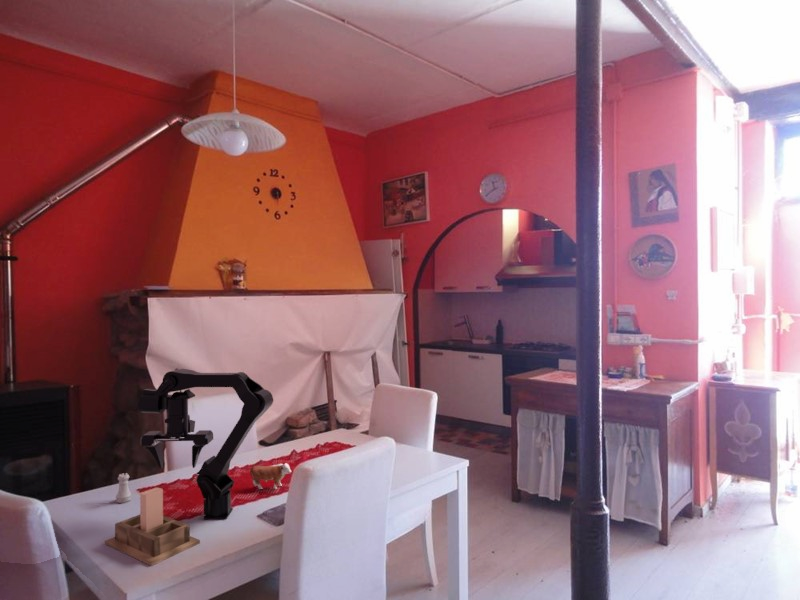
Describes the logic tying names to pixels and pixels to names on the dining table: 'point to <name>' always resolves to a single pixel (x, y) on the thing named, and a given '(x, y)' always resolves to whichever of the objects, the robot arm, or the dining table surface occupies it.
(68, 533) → the dining table surface
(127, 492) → the rook chess piece
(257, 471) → the bull figurine
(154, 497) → the tan rectangular block
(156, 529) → the wooden compartment tray
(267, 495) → the dining table surface
